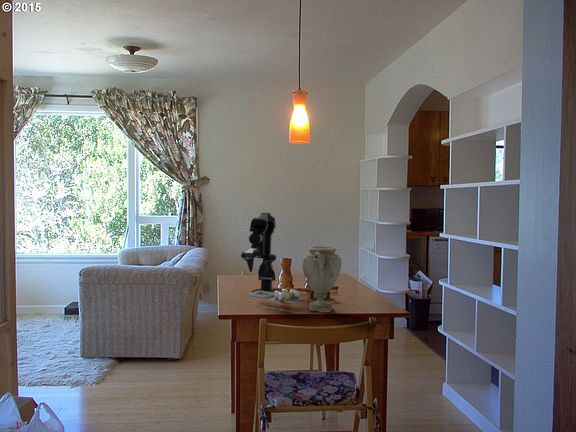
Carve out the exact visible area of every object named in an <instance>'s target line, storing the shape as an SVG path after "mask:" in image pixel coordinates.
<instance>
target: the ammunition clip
mask: <svg viewBox="0 0 576 432" xmlns="http://www.w3.org/2000/svg"><path fill="white" fill-rule="evenodd" d="M315 294H316V293H315V292H314V291H313V290H312V289H311V288H309V299H310V300H311V299H312V300H317V296H316V295H315ZM324 299H331V290H330V291H329V292H328V293H326V295H325V297H324Z"/></svg>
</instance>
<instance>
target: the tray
mask: <svg viewBox="0 0 576 432" xmlns="http://www.w3.org/2000/svg"><path fill="white" fill-rule="evenodd" d="M274 294H275V292H273V291H272V292H271V291H259V290H258V291H253V292H250V293H249V296H248V297H256V298H260V299H267V298H272V297H274Z"/></svg>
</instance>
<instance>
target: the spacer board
mask: <svg viewBox="0 0 576 432" xmlns="http://www.w3.org/2000/svg"><path fill="white" fill-rule="evenodd" d="M267 300H268V301H273V302H274V301H275V302H283V303H287V304H294V303H296V302H300V301H303V300H305V298H304V297H299V299H294V298H292V300H284V301H278V300H275V299H274V297H270V298H269V299H267Z"/></svg>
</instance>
